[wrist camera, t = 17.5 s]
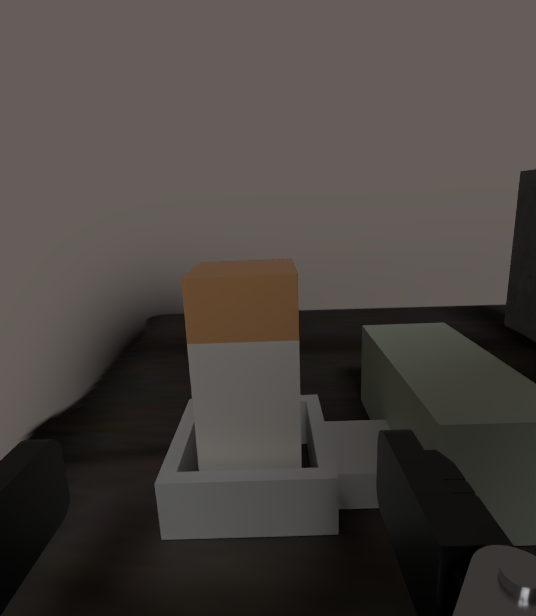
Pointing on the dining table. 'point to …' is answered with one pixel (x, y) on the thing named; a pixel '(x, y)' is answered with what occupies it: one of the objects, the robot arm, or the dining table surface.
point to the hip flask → (523, 261)
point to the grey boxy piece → (373, 445)
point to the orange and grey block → (244, 363)
